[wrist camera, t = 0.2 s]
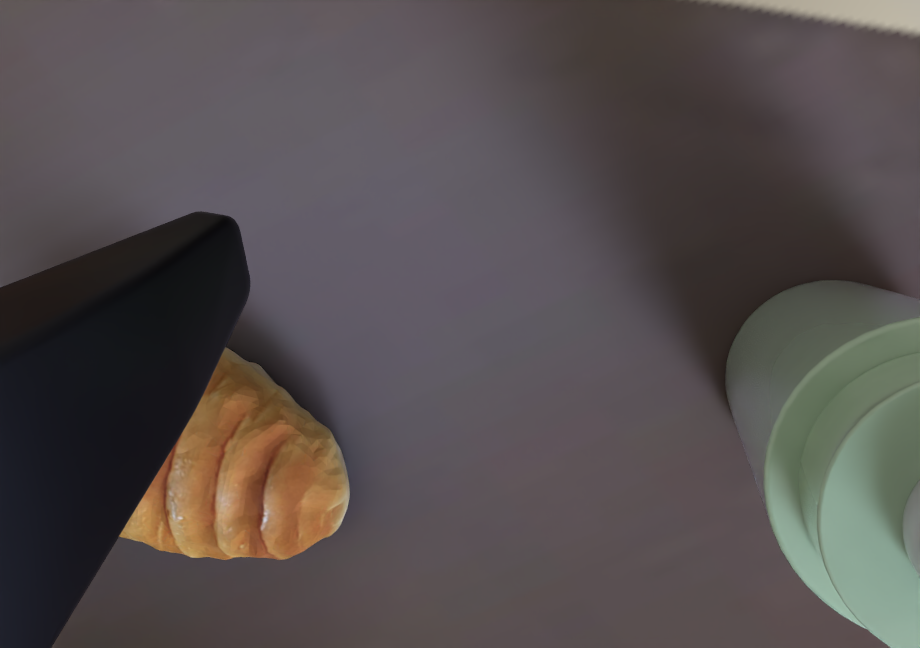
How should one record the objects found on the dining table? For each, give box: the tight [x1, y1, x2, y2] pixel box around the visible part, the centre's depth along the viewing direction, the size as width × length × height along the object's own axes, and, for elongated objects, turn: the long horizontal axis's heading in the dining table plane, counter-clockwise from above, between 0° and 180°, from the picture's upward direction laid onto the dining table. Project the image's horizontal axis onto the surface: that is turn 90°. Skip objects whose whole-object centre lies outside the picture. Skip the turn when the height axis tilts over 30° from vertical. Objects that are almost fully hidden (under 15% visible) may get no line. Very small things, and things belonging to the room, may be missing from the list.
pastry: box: [119, 347, 350, 560], centre depth 24 cm, size 9×7×4 cm
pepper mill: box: [725, 280, 920, 648], centre depth 16 cm, size 5×5×13 cm
